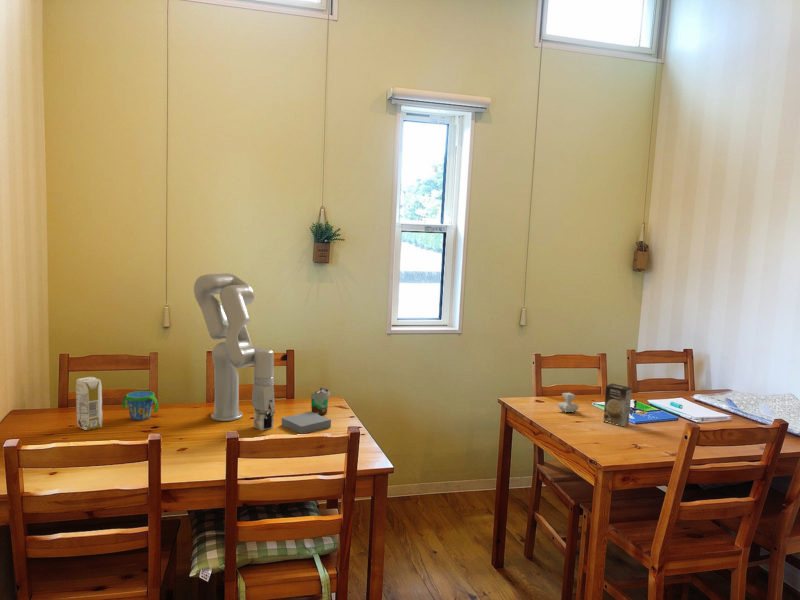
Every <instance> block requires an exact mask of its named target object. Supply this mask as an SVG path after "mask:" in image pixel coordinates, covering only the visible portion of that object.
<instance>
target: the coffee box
mask: <svg viewBox="0 0 800 600" xmlns="http://www.w3.org/2000/svg"><path fill="white" fill-rule="evenodd" d="M631 399H632V387H629V386H626V385H621V384H616V383H609V384H607V385H605V397H604V409H603V420H604V421H608V422H611V423H614V424H618V425H621V426H620V427H622V426H624V425H626V424H628V425H629V424H630V415H631V403H632V402H631ZM614 424H613V425H614ZM618 425H617V426H618ZM626 426H627V425H626ZM624 427H625V426H624Z"/></svg>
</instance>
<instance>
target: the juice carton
mask: <svg viewBox="0 0 800 600" xmlns="http://www.w3.org/2000/svg"><path fill="white" fill-rule="evenodd" d="M102 385H103V384H102V381H101V379H99V378H97V377H95V376H86V377H81V378H76V384H75V405H76V410H75V411H76V423H77V427H78V426H79V427H81V428H82V429H84V430H88V431H90V430H89V429H93V430H96V429H95V428H98V429H100V428H99V427H101V428H102V427H103V388H102ZM79 427H78V428H79ZM81 428H80V429H81ZM82 429H81V430H82ZM84 430H83V431H84Z"/></svg>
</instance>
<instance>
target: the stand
mask: <svg viewBox="0 0 800 600" xmlns="http://www.w3.org/2000/svg"><path fill="white" fill-rule="evenodd" d="M282 425H283V427H285V428H288V429H289V430H292V431H293V432H295V433H299V434H300V435H304V434H307V433H313V432H315V431H320V430H325V429H328V428H329V429H330V428H331V427H332V420H331V419H330V418H328V417H326V416H324V415H323V416H320V415H318V414H315V413H313V412H312V411H307V412H302V413H298V414H294V415H288V416H284V417H283V416H282V417H281V426H282Z"/></svg>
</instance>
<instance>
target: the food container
mask: <svg viewBox="0 0 800 600" xmlns="http://www.w3.org/2000/svg"><path fill="white" fill-rule="evenodd" d="M330 396H331V392H330V389H328V388H326V387H322V386H321V387H319V390H316V391H315V392H314V393H310V400H311V401H310V402H311V407H310V408H311V412H313V413H315V414H318V415H320V416H321V415H323V416H326V415H327V414H328V407H329V406H328V405H329V397H330ZM326 413H327V414H326ZM325 414H326V415H325Z"/></svg>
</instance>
